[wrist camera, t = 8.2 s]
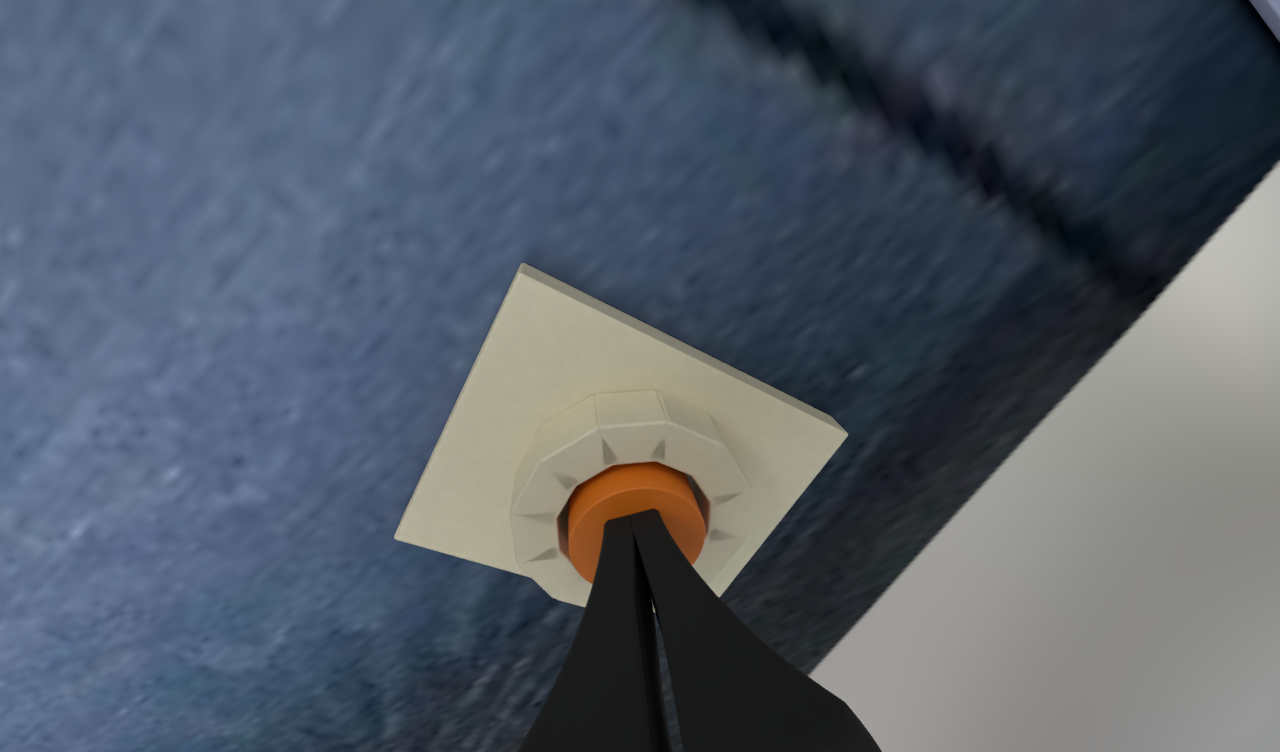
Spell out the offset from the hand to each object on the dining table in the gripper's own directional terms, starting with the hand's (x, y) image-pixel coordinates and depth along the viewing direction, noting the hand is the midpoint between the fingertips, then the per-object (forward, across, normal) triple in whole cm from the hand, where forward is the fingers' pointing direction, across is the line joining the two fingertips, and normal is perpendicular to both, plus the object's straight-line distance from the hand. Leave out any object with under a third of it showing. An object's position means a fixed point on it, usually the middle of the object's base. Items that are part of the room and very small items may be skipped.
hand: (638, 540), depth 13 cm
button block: (+3, 0, 0) cm, 3 cm away
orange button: (+2, 0, 0) cm, 2 cm away
